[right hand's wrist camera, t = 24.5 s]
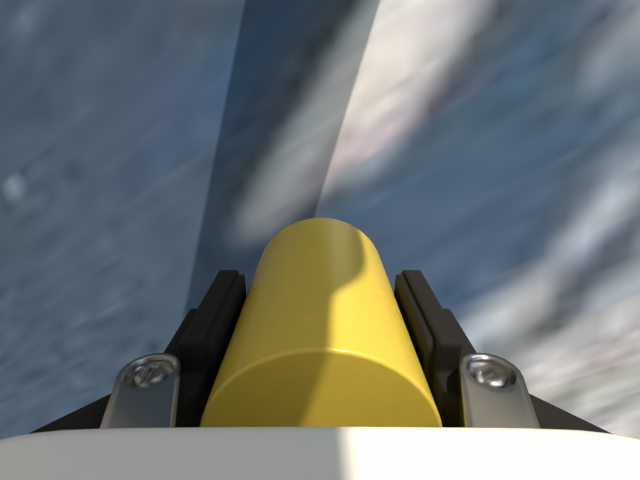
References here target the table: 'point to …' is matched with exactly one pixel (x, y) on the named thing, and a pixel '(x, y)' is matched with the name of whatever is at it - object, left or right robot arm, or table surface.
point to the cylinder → (320, 340)
